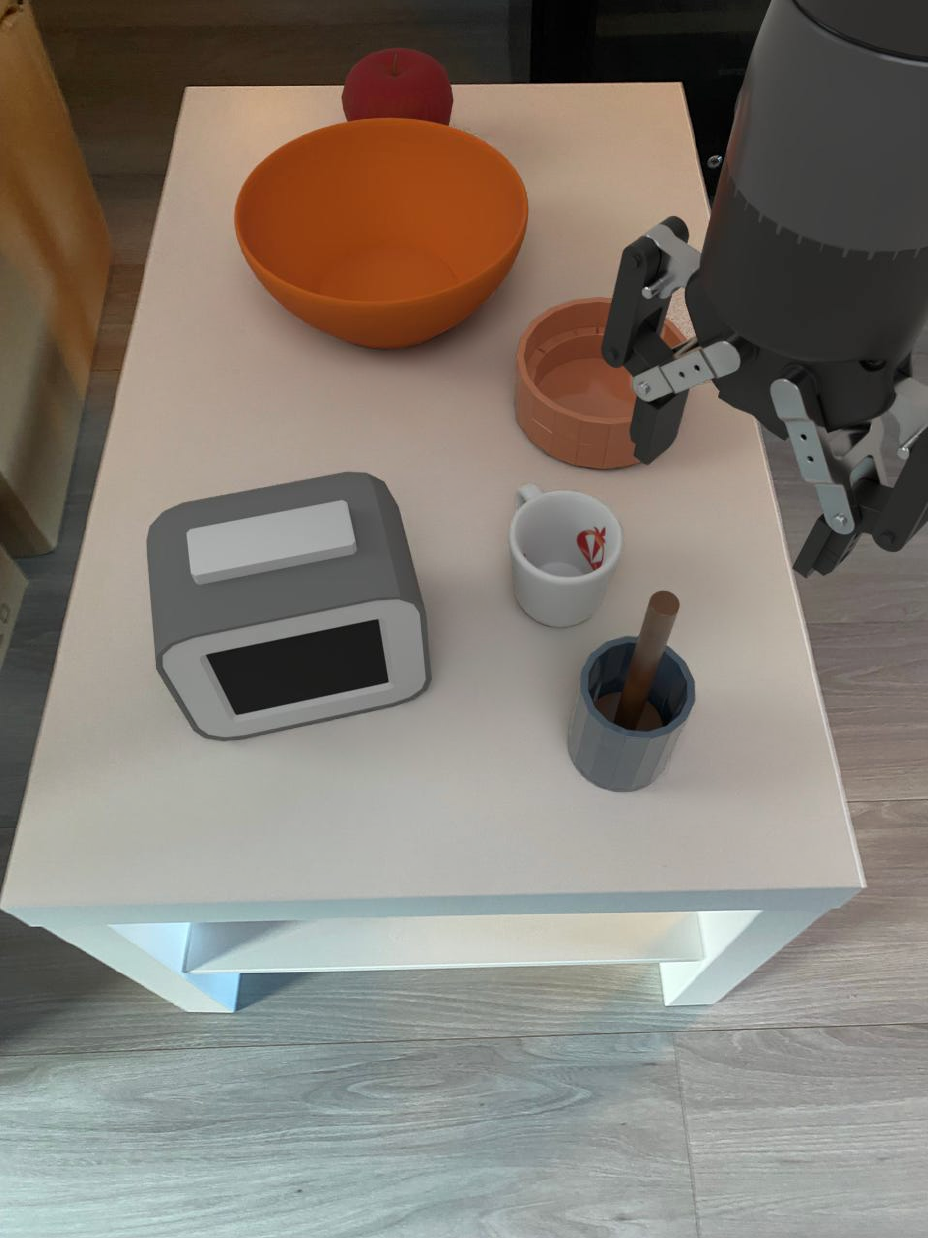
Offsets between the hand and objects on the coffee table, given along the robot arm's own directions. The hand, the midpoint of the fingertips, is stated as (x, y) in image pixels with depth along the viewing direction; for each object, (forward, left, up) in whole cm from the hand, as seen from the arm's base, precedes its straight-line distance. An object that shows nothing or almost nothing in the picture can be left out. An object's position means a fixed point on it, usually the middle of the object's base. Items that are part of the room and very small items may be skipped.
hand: (729, 504), depth 41 cm
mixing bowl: (+15, -28, -28) cm, 43 cm away
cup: (+11, -10, -28) cm, 32 cm away
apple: (+47, -50, -28) cm, 75 cm away
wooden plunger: (+1, 0, -28) cm, 28 cm away
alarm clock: (+24, +4, -28) cm, 38 cm away
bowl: (+38, -32, -28) cm, 58 cm away
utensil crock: (+1, 0, -28) cm, 28 cm away
